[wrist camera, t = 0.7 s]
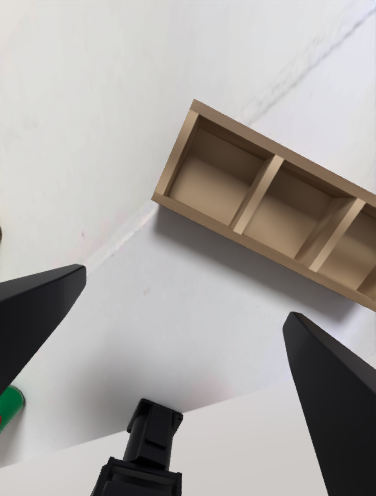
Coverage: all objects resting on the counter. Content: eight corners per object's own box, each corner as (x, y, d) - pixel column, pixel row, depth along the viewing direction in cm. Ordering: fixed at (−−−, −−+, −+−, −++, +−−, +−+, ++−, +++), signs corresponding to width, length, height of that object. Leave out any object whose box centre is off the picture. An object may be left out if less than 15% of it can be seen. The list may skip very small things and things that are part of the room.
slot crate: (352, 295, 23) (382, 315, 19) (159, 199, 22) (150, 199, 18) (405, 228, 21) (451, 235, 17) (195, 117, 20) (194, 98, 16)
